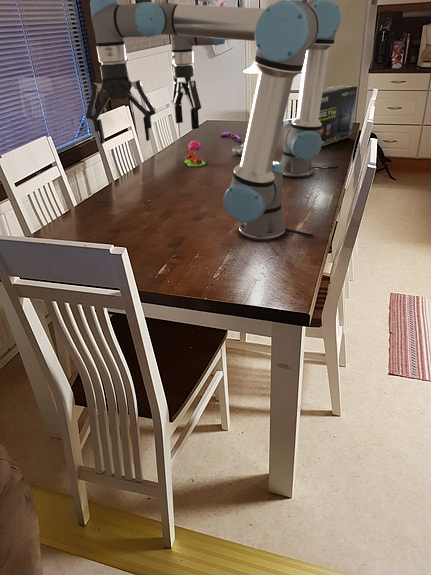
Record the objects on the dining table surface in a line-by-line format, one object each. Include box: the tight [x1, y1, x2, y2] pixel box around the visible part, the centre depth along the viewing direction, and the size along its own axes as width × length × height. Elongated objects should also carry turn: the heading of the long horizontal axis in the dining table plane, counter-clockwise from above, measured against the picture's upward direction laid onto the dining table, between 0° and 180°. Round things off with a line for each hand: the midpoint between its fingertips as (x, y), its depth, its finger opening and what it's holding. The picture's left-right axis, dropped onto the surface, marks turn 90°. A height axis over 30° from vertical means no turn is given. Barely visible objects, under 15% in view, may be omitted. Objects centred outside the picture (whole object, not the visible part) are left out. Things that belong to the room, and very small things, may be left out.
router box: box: [319, 84, 358, 145], centre depth 238 cm, size 36×11×27 cm, turn 134°
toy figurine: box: [183, 140, 206, 168], centre depth 218 cm, size 12×9×11 cm
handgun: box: [221, 131, 243, 143], centre depth 259 cm, size 21×8×2 cm, turn 11°
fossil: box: [231, 142, 245, 156], centre depth 230 cm, size 18×11×15 cm
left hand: (125, 141), depth 138 cm, fingers open, 13 cm apart
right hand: (187, 125), depth 177 cm, fingers open, 13 cm apart
